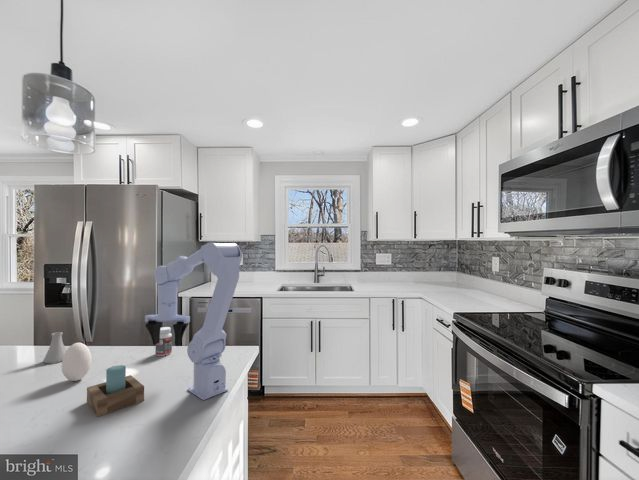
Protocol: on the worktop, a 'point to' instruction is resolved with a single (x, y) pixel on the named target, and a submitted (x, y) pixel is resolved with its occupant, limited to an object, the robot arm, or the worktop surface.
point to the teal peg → (115, 379)
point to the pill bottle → (164, 342)
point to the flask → (55, 349)
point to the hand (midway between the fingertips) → (167, 344)
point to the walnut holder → (114, 396)
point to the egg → (76, 362)
